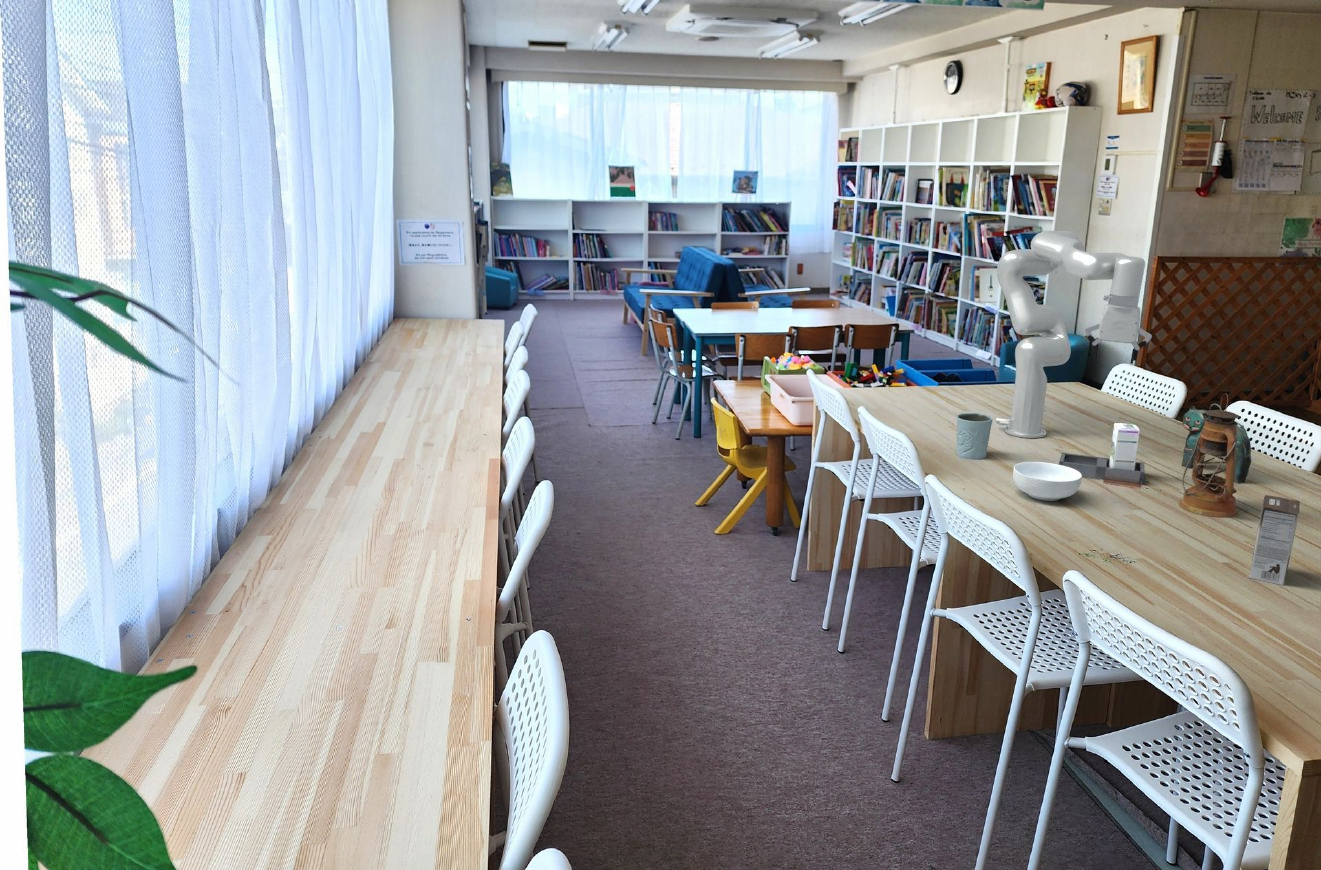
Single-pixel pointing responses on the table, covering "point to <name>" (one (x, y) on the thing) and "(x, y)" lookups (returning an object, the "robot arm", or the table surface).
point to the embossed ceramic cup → (973, 435)
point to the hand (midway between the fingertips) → (1113, 360)
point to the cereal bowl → (1046, 480)
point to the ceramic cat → (1194, 425)
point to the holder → (1104, 470)
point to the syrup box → (1124, 446)
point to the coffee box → (1274, 539)
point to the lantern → (1209, 489)
